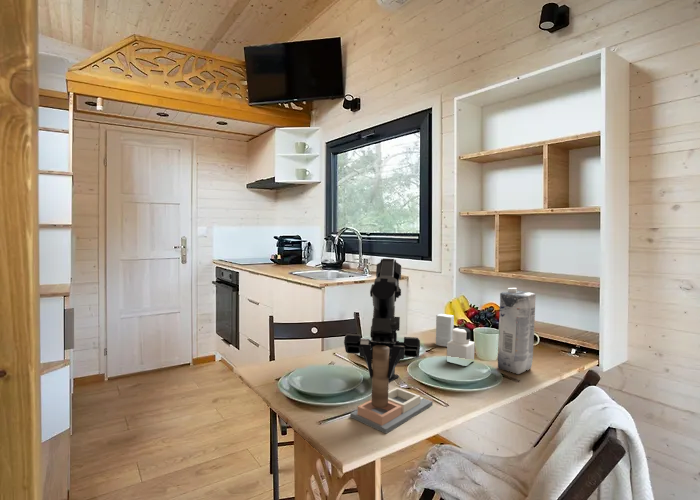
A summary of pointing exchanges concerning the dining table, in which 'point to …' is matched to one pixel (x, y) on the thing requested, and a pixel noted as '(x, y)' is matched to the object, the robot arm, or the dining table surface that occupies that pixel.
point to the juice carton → (516, 330)
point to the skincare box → (444, 329)
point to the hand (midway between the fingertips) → (380, 377)
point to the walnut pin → (380, 376)
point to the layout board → (391, 410)
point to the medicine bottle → (461, 344)
